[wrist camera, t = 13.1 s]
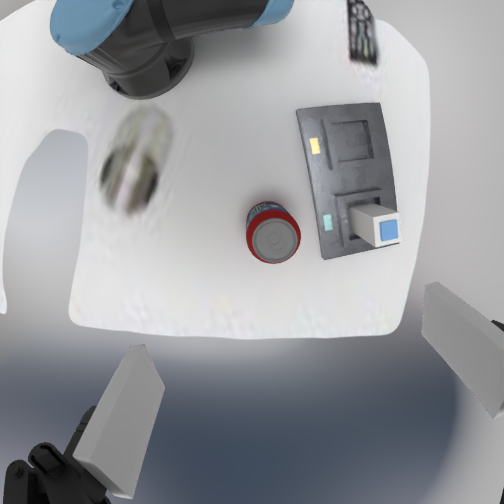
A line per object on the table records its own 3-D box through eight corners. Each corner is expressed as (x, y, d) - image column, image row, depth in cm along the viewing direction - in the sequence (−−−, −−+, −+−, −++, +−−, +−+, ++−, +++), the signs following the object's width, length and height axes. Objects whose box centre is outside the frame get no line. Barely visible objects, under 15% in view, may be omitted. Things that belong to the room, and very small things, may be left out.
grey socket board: (296, 111, 41) (300, 106, 37) (376, 104, 40) (385, 100, 37) (321, 257, 48) (327, 264, 44) (395, 241, 47) (404, 246, 44)
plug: (347, 206, 44) (374, 218, 33) (369, 202, 43) (401, 213, 33) (350, 230, 45) (377, 248, 35) (372, 226, 45) (403, 242, 34)
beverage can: (272, 192, 44) (281, 200, 33) (297, 226, 46) (314, 246, 34) (237, 218, 45) (234, 235, 34) (263, 251, 47) (269, 278, 36)
